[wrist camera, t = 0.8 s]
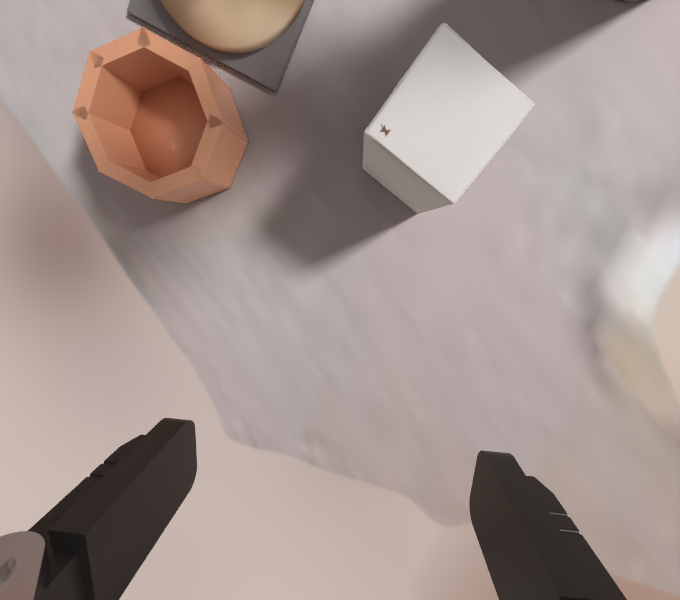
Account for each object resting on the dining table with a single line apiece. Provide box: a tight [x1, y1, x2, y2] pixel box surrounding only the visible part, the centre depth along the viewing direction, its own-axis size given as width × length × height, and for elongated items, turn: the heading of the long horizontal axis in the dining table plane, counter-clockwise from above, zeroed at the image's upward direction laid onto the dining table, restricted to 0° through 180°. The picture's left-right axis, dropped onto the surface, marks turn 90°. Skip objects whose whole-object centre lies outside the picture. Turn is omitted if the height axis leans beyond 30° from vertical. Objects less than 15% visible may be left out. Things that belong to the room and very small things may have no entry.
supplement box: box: [362, 23, 535, 213], centre depth 25 cm, size 7×7×13 cm
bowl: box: [72, 27, 249, 204], centre depth 29 cm, size 12×12×6 cm
